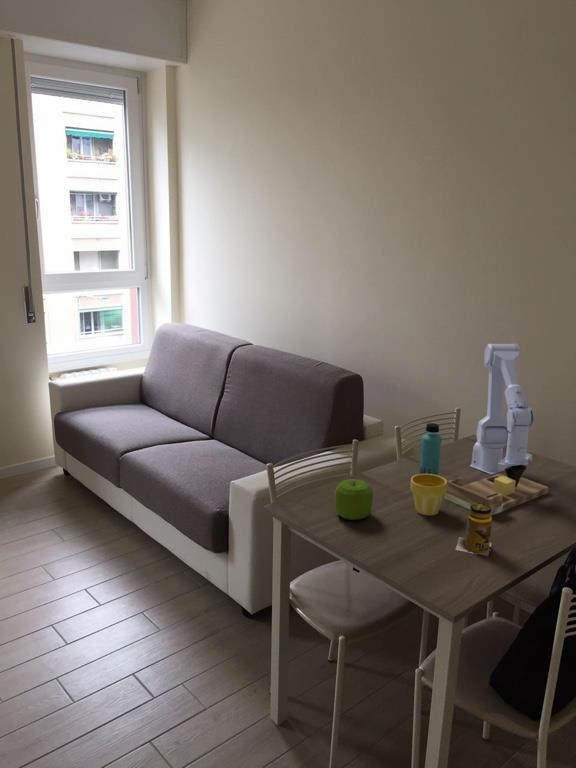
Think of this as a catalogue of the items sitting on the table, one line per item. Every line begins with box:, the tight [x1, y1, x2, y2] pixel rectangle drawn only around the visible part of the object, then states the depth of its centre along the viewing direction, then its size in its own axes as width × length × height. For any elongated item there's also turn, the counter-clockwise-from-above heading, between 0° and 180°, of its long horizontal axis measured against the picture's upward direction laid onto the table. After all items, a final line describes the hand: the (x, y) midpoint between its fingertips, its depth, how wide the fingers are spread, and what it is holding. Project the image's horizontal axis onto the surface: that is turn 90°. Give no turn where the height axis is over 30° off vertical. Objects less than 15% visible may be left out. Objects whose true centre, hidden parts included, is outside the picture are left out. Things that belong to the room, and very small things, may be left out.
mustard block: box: [493, 476, 516, 496], centre depth 200 cm, size 4×4×4 cm
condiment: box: [455, 503, 493, 555], centre depth 169 cm, size 7×8×12 cm
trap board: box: [443, 471, 549, 517], centre depth 202 cm, size 30×16×6 cm, turn 126°
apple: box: [334, 478, 374, 521], centre depth 187 cm, size 11×11×11 cm
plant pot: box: [410, 473, 448, 516], centre depth 190 cm, size 10×10×10 cm
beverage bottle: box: [419, 422, 443, 476], centre depth 209 cm, size 6×7×20 cm
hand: (512, 486), depth 202 cm, fingers closed
